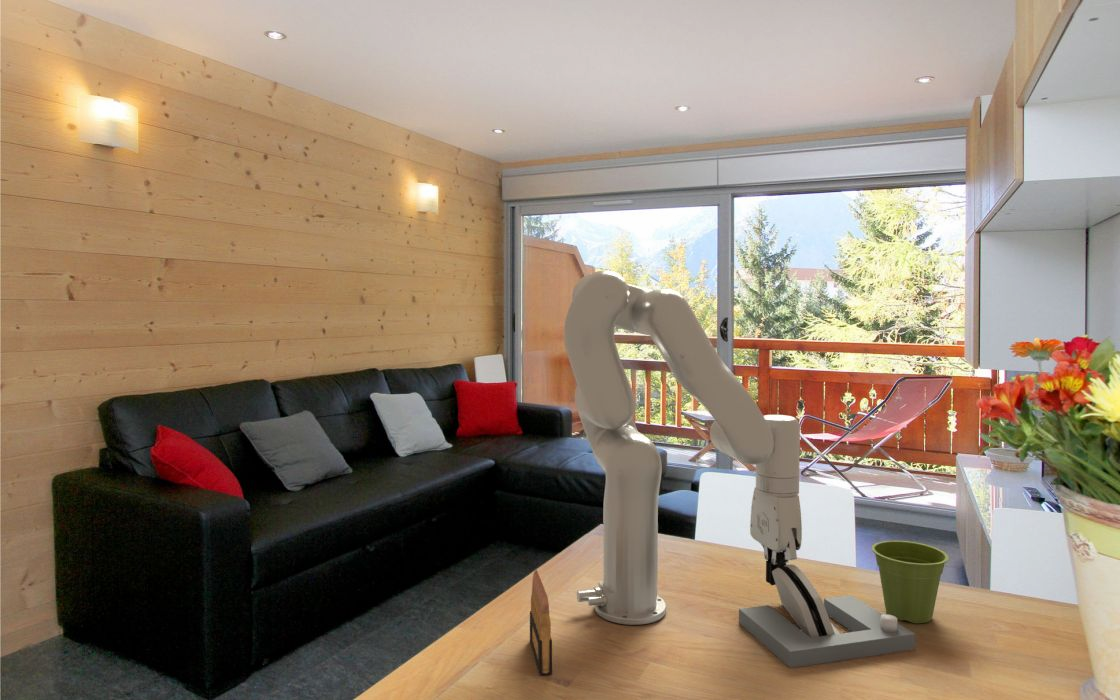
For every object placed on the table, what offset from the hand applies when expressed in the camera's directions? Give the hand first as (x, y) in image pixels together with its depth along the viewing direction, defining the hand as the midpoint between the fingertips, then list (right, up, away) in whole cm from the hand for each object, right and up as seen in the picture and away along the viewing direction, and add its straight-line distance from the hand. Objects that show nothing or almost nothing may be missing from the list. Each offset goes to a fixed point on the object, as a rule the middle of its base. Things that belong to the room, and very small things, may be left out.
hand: (775, 582), depth 123 cm
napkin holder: (-42, -5, -20) cm, 47 cm away
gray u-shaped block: (+3, -4, -14) cm, 15 cm away
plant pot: (+21, -4, -6) cm, 22 cm away
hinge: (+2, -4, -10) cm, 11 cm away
